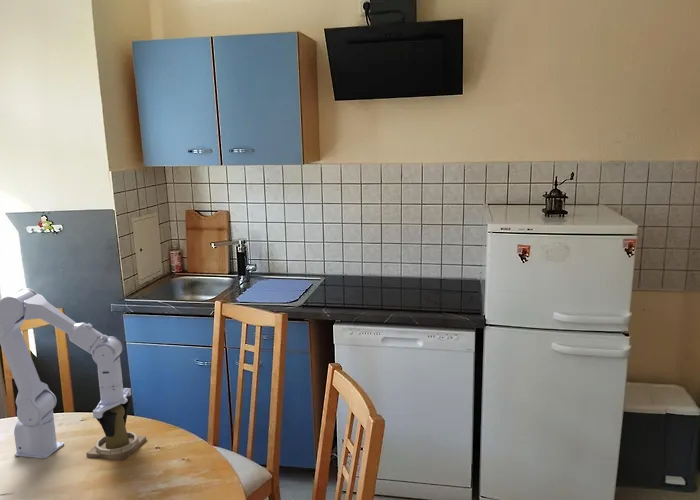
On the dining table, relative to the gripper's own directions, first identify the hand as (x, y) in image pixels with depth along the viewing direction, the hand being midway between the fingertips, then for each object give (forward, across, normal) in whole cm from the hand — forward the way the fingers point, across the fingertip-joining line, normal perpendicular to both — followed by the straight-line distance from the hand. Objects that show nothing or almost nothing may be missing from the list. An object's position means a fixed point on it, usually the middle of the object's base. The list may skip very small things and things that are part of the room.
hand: (115, 431), depth 160 cm
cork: (+4, 0, 0) cm, 4 cm away
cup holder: (+5, 0, 0) cm, 5 cm away
